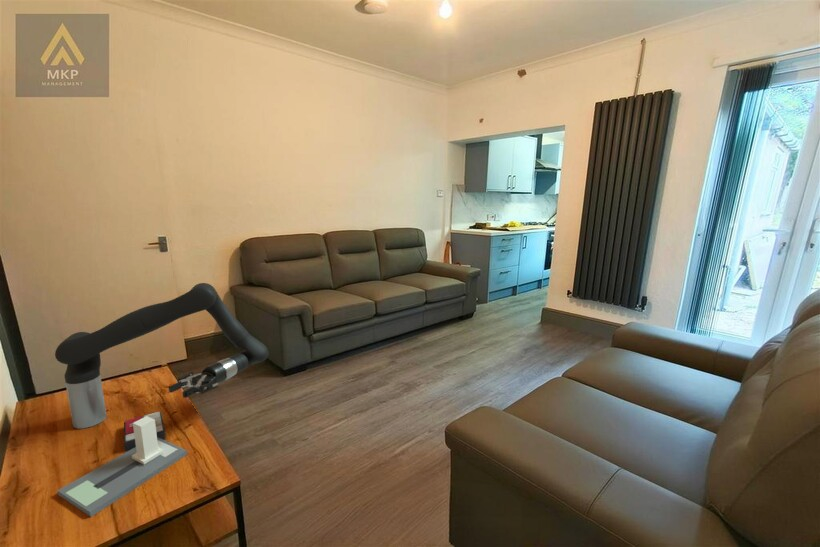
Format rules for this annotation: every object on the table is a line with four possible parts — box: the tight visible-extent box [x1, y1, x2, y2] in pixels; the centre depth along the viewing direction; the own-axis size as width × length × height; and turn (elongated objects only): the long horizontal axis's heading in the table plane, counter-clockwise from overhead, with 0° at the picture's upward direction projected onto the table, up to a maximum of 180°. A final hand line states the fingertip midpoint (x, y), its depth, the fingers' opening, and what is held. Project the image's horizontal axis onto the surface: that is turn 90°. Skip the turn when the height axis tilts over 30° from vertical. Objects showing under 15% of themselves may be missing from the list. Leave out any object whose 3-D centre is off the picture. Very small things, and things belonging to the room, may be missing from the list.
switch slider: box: [132, 416, 164, 464], centre depth 112 cm, size 6×6×12 cm
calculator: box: [123, 411, 166, 453], centre depth 125 cm, size 11×4×15 cm
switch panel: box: [56, 437, 188, 518], centre depth 108 cm, size 16×26×2 cm, turn 156°
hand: (176, 392), depth 119 cm, fingers open, 6 cm apart
